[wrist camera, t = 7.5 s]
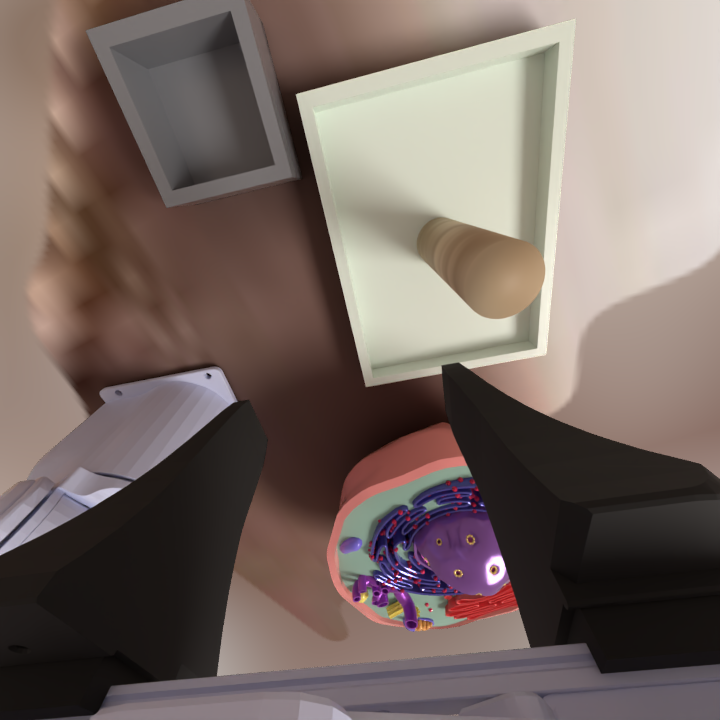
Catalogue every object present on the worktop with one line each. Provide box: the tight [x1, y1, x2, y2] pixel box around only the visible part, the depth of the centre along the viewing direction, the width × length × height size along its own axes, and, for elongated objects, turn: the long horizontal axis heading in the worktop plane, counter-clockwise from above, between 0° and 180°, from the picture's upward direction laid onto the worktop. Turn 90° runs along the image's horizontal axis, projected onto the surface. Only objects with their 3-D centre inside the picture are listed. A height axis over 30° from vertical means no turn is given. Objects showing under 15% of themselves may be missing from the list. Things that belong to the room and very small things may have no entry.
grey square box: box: [86, 0, 303, 208], centre depth 15 cm, size 6×6×3 cm
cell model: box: [327, 422, 519, 632], centre depth 23 cm, size 17×20×11 cm
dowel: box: [417, 217, 545, 319], centre depth 14 cm, size 3×3×9 cm
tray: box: [296, 19, 576, 387], centre depth 18 cm, size 12×16×2 cm
